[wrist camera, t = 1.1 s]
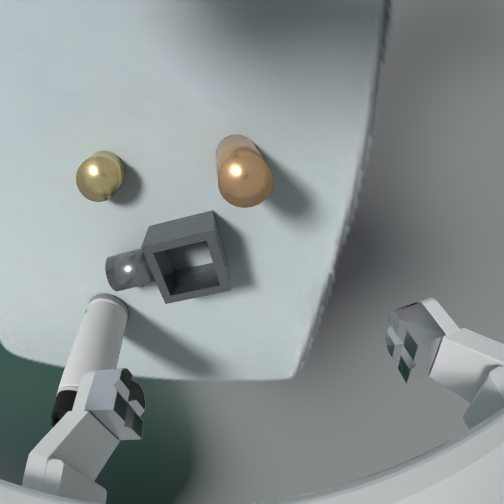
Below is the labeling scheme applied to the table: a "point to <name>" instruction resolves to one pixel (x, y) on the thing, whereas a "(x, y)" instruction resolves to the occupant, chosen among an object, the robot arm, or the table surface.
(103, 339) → the travel mug
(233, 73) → the table surface
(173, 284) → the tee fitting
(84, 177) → the brass round knob
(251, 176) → the copper brown cylinder
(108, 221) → the table surface
